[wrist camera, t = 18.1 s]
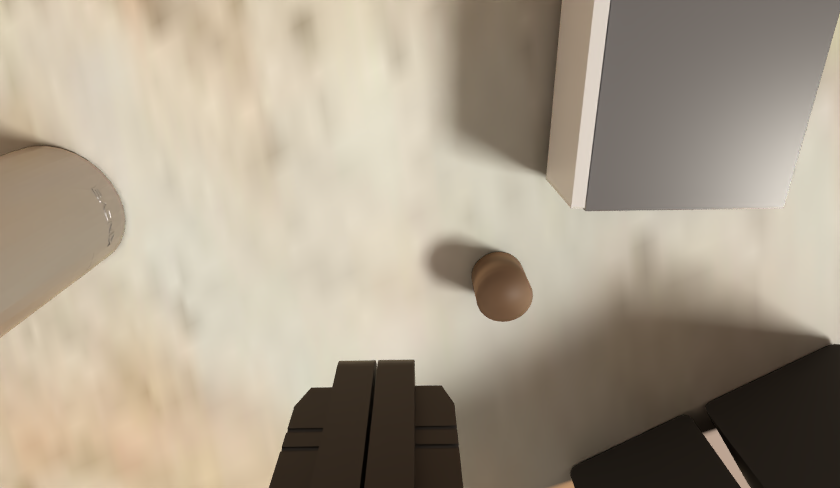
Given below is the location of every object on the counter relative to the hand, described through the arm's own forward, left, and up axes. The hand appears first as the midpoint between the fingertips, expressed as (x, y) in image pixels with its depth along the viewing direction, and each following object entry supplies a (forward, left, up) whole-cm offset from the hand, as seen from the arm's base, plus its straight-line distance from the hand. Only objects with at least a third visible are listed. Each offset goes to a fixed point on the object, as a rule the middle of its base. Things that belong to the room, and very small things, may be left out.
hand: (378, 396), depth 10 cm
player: (+17, +4, -27) cm, 32 cm away
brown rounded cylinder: (+7, -11, -27) cm, 30 cm away
